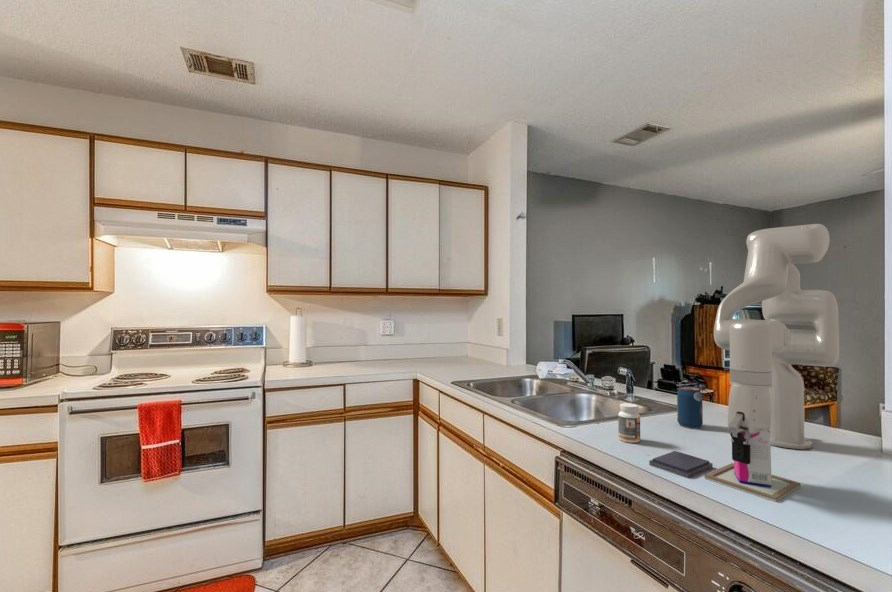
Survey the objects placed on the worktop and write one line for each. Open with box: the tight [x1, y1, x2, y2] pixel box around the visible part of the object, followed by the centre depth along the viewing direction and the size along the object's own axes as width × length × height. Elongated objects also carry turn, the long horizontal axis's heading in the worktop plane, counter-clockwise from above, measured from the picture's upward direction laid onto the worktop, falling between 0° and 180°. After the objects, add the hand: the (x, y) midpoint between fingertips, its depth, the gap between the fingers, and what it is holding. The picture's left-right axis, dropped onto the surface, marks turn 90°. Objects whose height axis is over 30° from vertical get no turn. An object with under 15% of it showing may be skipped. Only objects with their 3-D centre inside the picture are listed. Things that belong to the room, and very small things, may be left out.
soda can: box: [676, 385, 704, 430], centre depth 132 cm, size 7×7×12 cm
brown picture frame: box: [704, 462, 802, 502], centre depth 90 cm, size 13×13×1 cm
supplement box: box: [733, 428, 772, 488], centre depth 91 cm, size 6×6×12 cm
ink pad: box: [648, 450, 713, 479], centre depth 99 cm, size 11×9×2 cm
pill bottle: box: [617, 402, 641, 444], centre depth 118 cm, size 6×6×10 cm
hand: (751, 457), depth 90 cm, fingers open, 9 cm apart
